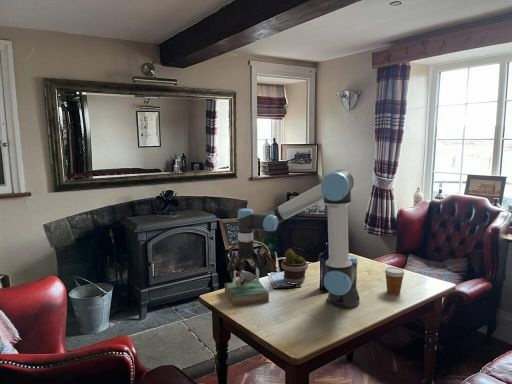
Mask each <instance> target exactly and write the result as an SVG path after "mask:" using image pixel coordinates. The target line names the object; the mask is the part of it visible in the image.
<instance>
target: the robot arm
mask: <svg viewBox="0 0 512 384" xmlns="http://www.w3.org/2000/svg"><path fill="white" fill-rule="evenodd" d="M354 183H355V180H354V177H353V175H352V174H351V173H350V172H349V171H347V170H344V169H337V170H334V171H331V172H330V173H327V174H326V175H325V176H324V178H323V179H322V181H321V183H319V184H318V185H316V186H314V187H312V188H310V189H308V190H307V191H304V192H302V193H300V194H299V195H297V196H295V197H293V198H292V199H290V200H288V201H286V202H284V203H282V204H280V205H279V206H276V207H274V208H272V209H270V210H269V211H266V212H265V213H262V214H261V213H259V214H258V213H254V210H253V209H252V208H248V207H246V208H240V209H238V211H237V218H236V219H237V240H238V241H237V251H236V250H232V251H231V257H230V260H229V262H228V265H227V267H226V269H227V271H228V272H230V277H231V279H232V282H233V284H234V285H236V282H237V279H236V278H237V276H236V275H237V274H236V273H237V272H236V269H237V268H238V266H239V264H240V263H241V261H243V260H249V259H250V260H251V261H252V262H253V264H255V266H256V268H255V275H257V277H256V278H255V280H256V281H257V282H260V276H261V275H262V274H261V273H262V269H263V268H265V264H264V261H263V259H262V256H261V254H260V253H261V251H260V249H259V248H255V249H254V230H256V231H257V230H258V231H265V232H275V231H276V230H277V228H278V225H279V224H280V223H281V222H284V221H285V220H288V219H289V218H291V217H293V216H296V215H298V214H299V213H301V212H303V211H305V210H307V209H309V208H311V207H312V206H315V205H317V204H319V203H321V202H323V204H324V205H326V206H327V235H328V236H327V237H328V239H327V240H328V259H327V260H326V261H325V275H324V276H323V285H324V288H325V289H326V290H327V292H328V295H327V302H328V303H329V305H332V306H334V307H336V308H343V309H352V308H357V307H358V306H360V304H361V303H360V302H361V300H360V299H361V298H360V295H359V292H358V291H359V290H358V287H357V281H358V278H357V277H358V265H359V264H358V258H357V257H356V256H354V255H350V254H349V215H348V209H349V207H348V206H349V205H350V204H351V203H352V189H353V188H354V185H355V184H354ZM254 254H256V257H257V259H258V261H257V260H256V258H255V257H254V256H253V255H254ZM237 255H238V256H237ZM235 258H236V260H235ZM258 262H259V263H258Z"/></svg>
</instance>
